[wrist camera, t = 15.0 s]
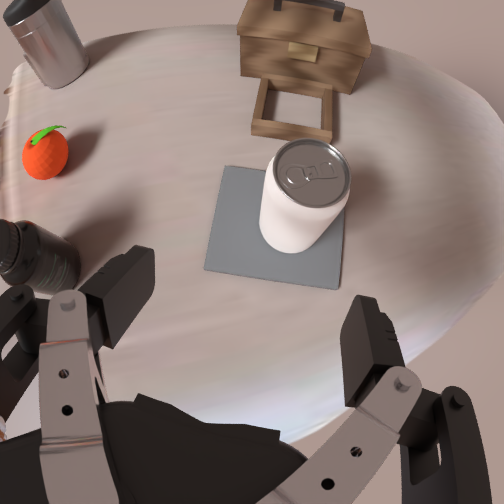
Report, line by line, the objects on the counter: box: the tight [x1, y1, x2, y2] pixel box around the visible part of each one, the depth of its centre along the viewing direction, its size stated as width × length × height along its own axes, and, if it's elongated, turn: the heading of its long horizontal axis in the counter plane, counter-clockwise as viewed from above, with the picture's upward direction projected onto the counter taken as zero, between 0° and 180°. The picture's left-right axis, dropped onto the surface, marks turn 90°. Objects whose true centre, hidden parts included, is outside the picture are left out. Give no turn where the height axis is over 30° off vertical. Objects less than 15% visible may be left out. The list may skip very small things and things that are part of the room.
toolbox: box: [237, 0, 372, 144], centre depth 31 cm, size 17×22×13 cm
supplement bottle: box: [0, 219, 81, 296], centre depth 24 cm, size 7×7×12 cm
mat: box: [204, 166, 344, 290], centre depth 31 cm, size 14×12×1 cm
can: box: [259, 138, 351, 253], centre depth 25 cm, size 6×6×12 cm
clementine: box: [22, 126, 68, 180], centre depth 30 cm, size 8×7×7 cm
